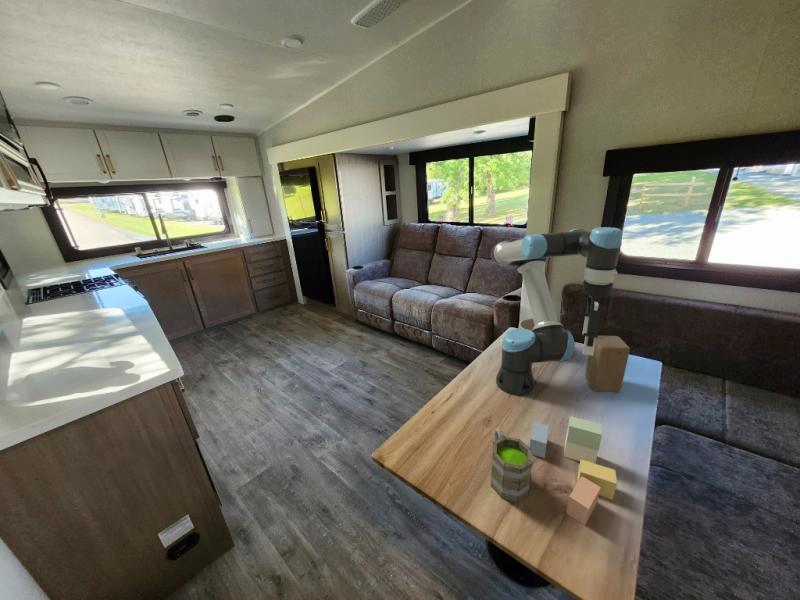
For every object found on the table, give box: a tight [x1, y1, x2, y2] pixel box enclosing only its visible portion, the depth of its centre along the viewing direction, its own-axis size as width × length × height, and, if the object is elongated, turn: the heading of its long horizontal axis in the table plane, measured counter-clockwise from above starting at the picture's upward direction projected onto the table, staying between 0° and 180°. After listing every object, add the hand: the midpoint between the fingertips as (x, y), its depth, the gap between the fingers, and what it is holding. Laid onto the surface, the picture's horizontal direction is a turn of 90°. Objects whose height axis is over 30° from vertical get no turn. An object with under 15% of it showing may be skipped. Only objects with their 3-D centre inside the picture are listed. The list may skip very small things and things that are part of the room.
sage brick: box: [566, 415, 603, 452], centre depth 89 cm, size 8×4×6 cm, turn 61°
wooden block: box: [584, 335, 631, 393], centre depth 119 cm, size 10×10×20 cm
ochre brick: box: [577, 459, 618, 501], centre depth 82 cm, size 8×4×6 cm, turn 61°
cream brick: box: [563, 434, 599, 464], centre depth 92 cm, size 8×4×6 cm, turn 61°
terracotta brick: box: [565, 476, 601, 526], centre depth 77 cm, size 8×4×6 cm, turn 131°
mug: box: [490, 428, 534, 503], centre depth 86 cm, size 16×11×12 cm
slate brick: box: [529, 421, 549, 459], centre depth 96 cm, size 8×4×6 cm, turn 151°
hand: (587, 344), depth 98 cm, fingers open, 13 cm apart
